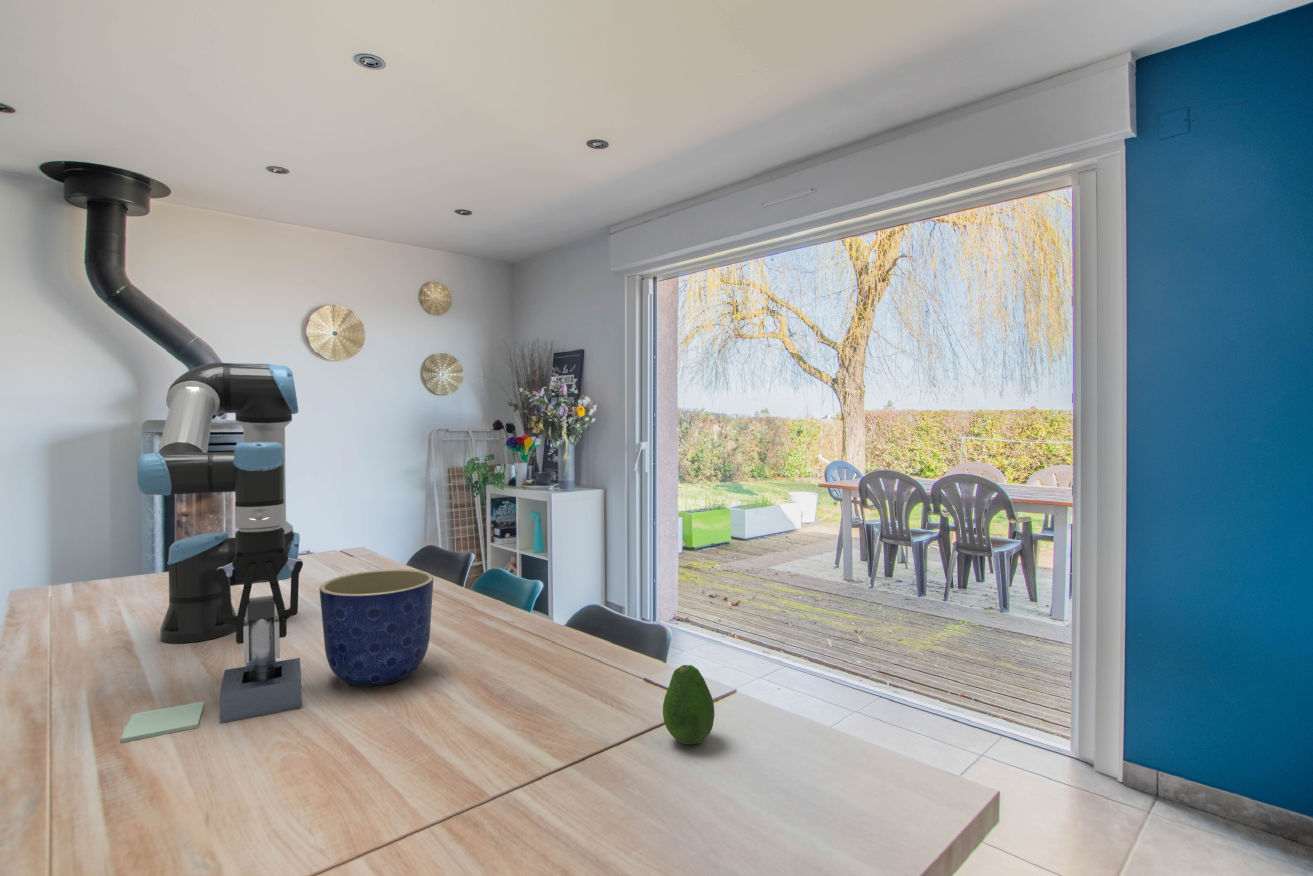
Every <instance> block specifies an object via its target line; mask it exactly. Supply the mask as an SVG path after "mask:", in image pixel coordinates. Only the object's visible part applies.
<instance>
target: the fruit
mask: <svg viewBox="0 0 1313 876" xmlns="http://www.w3.org/2000/svg"><path fill="white" fill-rule="evenodd" d="M662 717H663V718H662V719H663V722H664V725H665V728H666V729H667V731H668V733H669V734H670V735H671V736H672V737H673V738H674V739H675V740H677V741H679V743H682V744H684V745H686V744H687V745H697V744H700V743H703V742H704V740H705V739H706V738H707V737H709V735H710V734H711V732H712V730H713V727H714V720H715V705H714V700H713V697H712V694H711V691H710V689H709V687H708V685H707V683H706V681H705V678H704V676H702V674H701V672H700V670H699V668H697V667H695V666H694V665H693V664H682V665H681V666H680V667H678V668H676V669H674V671H673V673H672V676H671V679H670V681H669V685H668V688H667V690H666V693H665V695H664V699H663V703H662Z"/></svg>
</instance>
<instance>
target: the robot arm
mask: <svg viewBox="0 0 1313 876" xmlns="http://www.w3.org/2000/svg"><path fill="white" fill-rule="evenodd" d="M166 394H167V395H166V398H165V402H166V406H167V409H168V411H167V412H168V413H167V416H166V419H165V423H164V427H163V431H162V435H161V438H160V443H159V446H158V449H157V452H153V453H144V454H141V455H140V456H139V458H138V460H137V467H136V482H137V487H138V490H139V491H140V493H141V494H143V495H146V496H154V495H155V496H159V495H160V496H161V495H162V496H170V495H171V496H172V495H191V494H209V493H210V494H211V493H229V492H230V493H231V492H233V493H234V495H235V496H234V497H235V499H234V500H235V502H234V527H235V528H236V529H238V530H236V532H235V533H234V534H235V535H234V536H235V537H230V535H229V534H228V532H227V531H219V532H218V531H217V532H216V531H215V532H209V533H203V534H198V535H193V536H192V535H191V536H189V537H184V538H181V539H179V540H176V541H174V542H173V543H171V545H170V546H169V548H168V561H167V565H168V603H169V604H168V606H167V607H168V608H167V610H166V613H165V616H164V619H163V621H162V624H161V626H160V629H159V630H160V635H159V638H160V641H162V642H164V643H169V644H185V643H193V642H202V641H207V640H213V639H216V638H219V637H223V636H226V635H229V634H231V633H233V632H235V643H236V644H237V645H241V644H243V663H244V664H246V663H249V623H248V622H245V615H246V610H247V606H248V601H249V598H250V596H251V591H252V587H253V584H262V583H263V584H264V583H269V586H270V590H271V593H272V596H273V598H274V602H275V610H276V613H277V616H278V617H277V618H276V617H275V621H274V637H275V658H276V659H280V655H281V653H280V652H281V650H280V649H281V648H280V643H281V642H280V639H281V638H286V637H287V634H288V632H287V631H288V630H287V627H288V625H287V620H288V619H289V618H291V617H293V616H296V615H297V614H298V612H299V611H298V609H299V587H300V585H299V581H300V572H301V570H302V568H303V566H304V562H303V560H302V559H301V558H298V557H299V551H300V550H299V549H300V538H301V537H300V533H299V532H296V531H294V527H293V525H292V524H291V523H290V522H288V521H287V507H286V506H287V505H286V503H287V501H286V500H287V499H286V495H287V494H286V492H287V491H286V489H287V488H286V483H287V482H286V427H287V426H288V425H289V424H291V422H292V421H293V415H296V414H298V413H299V406H298V405H299V404H298V398H297V391H296V387H295V380H294V374H293V371H292V369H291V368H290V367H288V366H287V365H279V364H270V363H238V362H237V363H233V362H231V363H229V362H209V363H205V364H202V365H199V366H195V367H194V368H192V369H190V370H188V371H186V372H184V373H183V374H181V375H180V376H179V377H178V378H177V379H175V380H174V381H173V383H172V384H170V386H169V388H168V389H167V393H166ZM217 413H221V414H222V413H225V414H235V422H236V423H238V424H239V425H240V426H241V427H242V428H243V431H242V433H243V442H239V443H237V444H236V445H235V446H234V450H233V451H222V452H221V451H218V452H215V451H210V452H208V449H209V443H210V442H209V441H210V435H211V430H212V429H211V428H212V420H213V416H214V415H215V414H217ZM286 580H290V597H289V599H290V601H289V604H290V605H289V608H287V609H286V606H285V603H284V602H285V601H284V598H283V596H282V595H283V594H282V590H281V586H280V583H279V582H280V581H286ZM242 585H243V587H242V592H241V597H240V601H239V606H238V609H237V611H238V612H236V611H235V608H234V605H233V603H232V591H231V588H232V587H234V586H242Z"/></svg>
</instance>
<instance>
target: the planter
mask: <svg viewBox="0 0 1313 876" xmlns="http://www.w3.org/2000/svg"><path fill="white" fill-rule="evenodd" d="M433 589H434V576H433V575H432V574H431V573H429V572H427V571H423V570H419V569H406V568H405V569H403V568H402V569H401V568H400V569H399V568H397V569H396V568H395V569H394V568H393V569H391V568H390V569H389V568H388V569H378V570H377V569H376V570H366V571H361V572H359V571H358V572H355V573H354V572H353V573H349V574H345V575H340V576H338V577H334V578H331V579H328V580H326V581H324V582H323V583H322V584H321V585H320V586H319V589H318V590H319V599H320V609H321V622H322V631H323V641H324V642H323V643H324V653H325V657H326V660H327V663H328V666H329V668H330V669H331V672H332V673H333V674H334V675H335V676H336V677H337V678H338V679H340V680H341V681H342V682H345V683H347V684H350V685H352V686H357V687H375V686H381V685H383V686H384V685H386V684H387V685H388V684H391V683H395V682H398V681H399V680H402V679H404V678H406V677H408V676H409V675H411V674H412V673H414V671H416V670H417V668H418V667H419V666H420V665H421V664H422V663H423V660H424V659H425V657H426V654H427V651H428V648H429V644H430V638H431V637H430V636H431V626H432V625H431V623H432V607H433V595H434V594H433V592H434V590H433Z"/></svg>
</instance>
